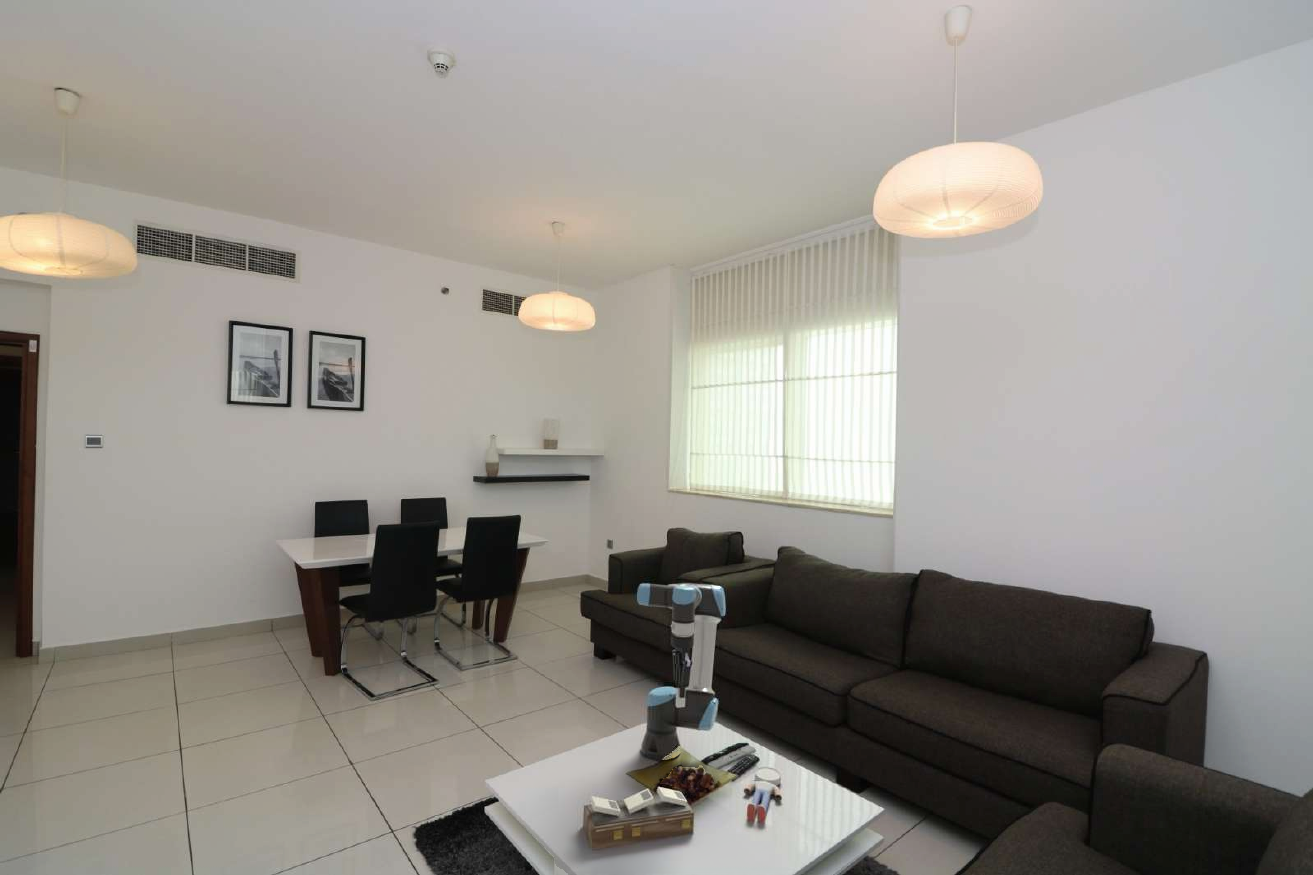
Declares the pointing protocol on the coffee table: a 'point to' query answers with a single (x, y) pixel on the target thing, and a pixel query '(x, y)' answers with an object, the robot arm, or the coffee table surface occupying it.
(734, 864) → the coffee table surface
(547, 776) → the coffee table surface
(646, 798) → the block
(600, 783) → the coffee table surface
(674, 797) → the rocker
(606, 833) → the wooden storage box
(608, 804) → the rocker
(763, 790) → the toy
